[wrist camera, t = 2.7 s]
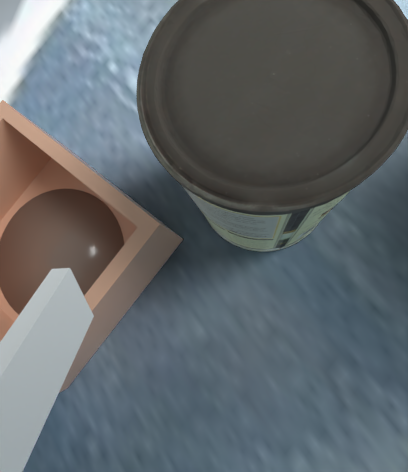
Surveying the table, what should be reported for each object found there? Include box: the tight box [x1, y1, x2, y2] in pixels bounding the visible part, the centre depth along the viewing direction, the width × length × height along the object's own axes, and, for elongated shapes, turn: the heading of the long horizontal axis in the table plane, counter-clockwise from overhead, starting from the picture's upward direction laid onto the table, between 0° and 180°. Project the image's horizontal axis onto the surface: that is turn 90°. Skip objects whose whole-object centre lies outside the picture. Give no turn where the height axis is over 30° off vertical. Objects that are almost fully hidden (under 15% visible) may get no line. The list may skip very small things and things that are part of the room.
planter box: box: [0, 100, 183, 393], centre depth 24 cm, size 15×15×6 cm
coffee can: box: [137, 0, 408, 251], centre depth 19 cm, size 10×10×14 cm
